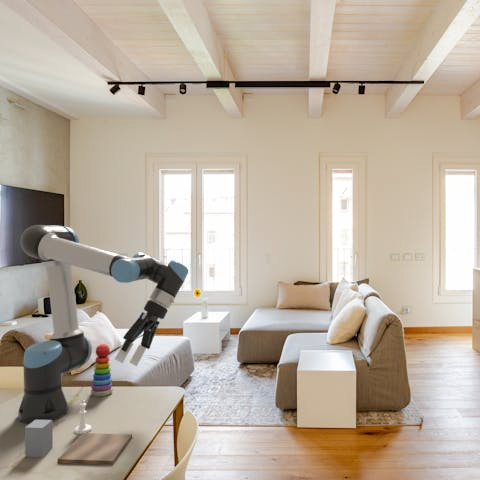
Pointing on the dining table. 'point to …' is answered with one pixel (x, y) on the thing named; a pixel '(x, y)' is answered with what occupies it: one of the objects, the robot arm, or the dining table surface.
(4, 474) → the dining table surface
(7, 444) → the dining table surface
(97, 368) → the stacking toy
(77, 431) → the chess piece
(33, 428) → the slate block
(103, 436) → the walnut pad
